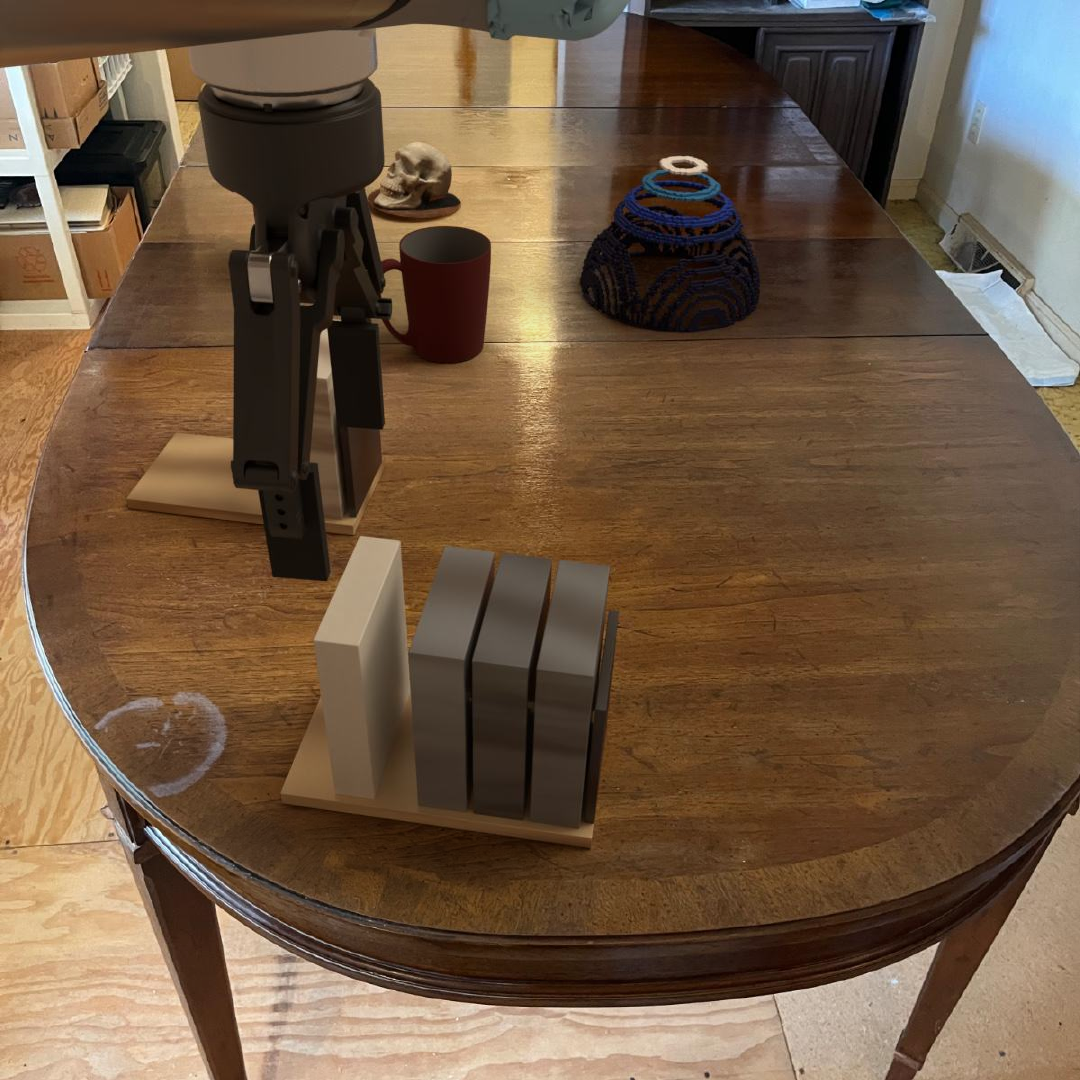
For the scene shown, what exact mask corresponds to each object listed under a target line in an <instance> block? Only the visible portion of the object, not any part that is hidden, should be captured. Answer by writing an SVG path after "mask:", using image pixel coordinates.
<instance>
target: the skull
mask: <svg viewBox="0 0 1080 1080" xmlns="http://www.w3.org/2000/svg"><path fill="white" fill-rule="evenodd" d="M394 160H395V161H393V162H392V163H391V164H390V166H389V167H388V168H387V172H386V176H385V177H384V178H383V179H382V180H381V181H380V183H379V187H380V188H377V189H374V190H373V191H371V192H370V193H369V194H368V195H367V200H368V204H370V205H371V207H373V209H376V210H377V211H379V212H383V213H385V214H388V215H393V216H397V217H402V218H404V217H405V218H410V219H412V220H417V218H418V219H420V220H423V219H426V220H430V219H431V218H438V217H443V216H444V217H445V216H448V215H452V214H453V213H454V212H456V211H458V210H459V209H460V208H461V206H462V202H461V200H460V198H458V197H457V196H456V195H455V194H454V193H451V192H450V188H451V184H452V178H453V177H452V176H453V170H452V165H451V163H450V161H449V159H448V158H447V156H446V155H444V154H443V153H442V152H441V151H440V150H439V149H437V148H436V147H434V146H432V145H430V144H428V143H425V142H422V141H413V142H410V143H408V144H405V145H404V146H402V147H400V148H399V149H398V150H396V151H395V153H394Z"/></svg>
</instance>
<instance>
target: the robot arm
mask: <svg viewBox="0 0 1080 1080" xmlns="http://www.w3.org/2000/svg"><path fill="white" fill-rule="evenodd" d="M630 2H631V0H0V69H5V68H14V67H23V66H30V65H31V66H33V65H40V64H41V65H42V64H50V63H59V62H66V61H75V60H83V59H84V60H85V59H92V58H94V59H95V58H101V57H102V58H103V57H111V56H120V55H128V54H137V53H145V52H155V51H164V50H170V49H171V50H172V49H179V48H187V52H188V58H189V63H190V70H191V72H192V73H193V74H194V76H195V78H198V80H200V81H202V82H203V83H204V86H203V87H202V88H201V91H200V92H199V94H198V96H197V104H198V111H199V117H200V122H201V128H202V134H203V141H204V147H205V148H204V149H205V152H206V159H207V166H208V170H209V172H210V174H211V176H212V178H213V179H214V180H215V181H216V183H217V184H218V185H220V186H221V187H222V188H223V189H225V190H227V191H229V192H230V193H235V194H237V195H238V196H241V197H243V198H244V199H245V200H247V201H248V202H249V203H250V204H251V205H253V206H254V207H255V210H256V215H255V220H254V223H253V224H252V226H251V229H250V234H249V246H248V249H236V248H235V249H231V251H230V254H229V257H228V258H229V259H228V271H229V280H230V287H231V296H232V304H233V305H232V306H233V395H232V396H233V407H232V408H233V410H232V411H233V414H232V417H233V419H232V423H233V425H232V428H233V429H232V432H233V433H232V439H233V460H231V471H232V473H233V474H232V476H233V484H234V486H235V487H236V488H242V489H251V490H258V493H259V499H260V505H261V511H262V517H263V523H264V524H263V530H264V534H265V535H264V536H265V540H266V547H267V553H268V559H269V565H270V570H271V571H270V572H271V577H272V578H279V579H290V580H302V581H303V580H305V581H316V582H317V581H318V582H328V579H329V577H330V575H331V572H332V571H331V564H330V563H331V562H330V553H329V546H328V539H327V532H326V529H325V520H324V512H323V504H322V495H321V487H320V479H319V470H318V463H310V452H311V440H312V429H313V417H314V405H315V393H316V382H317V370H318V358H319V347H320V335H321V332H322V331H323V330H325V329H327V332H328V342H329V352H330V361H331V371H332V381H333V390H334V400H335V410H336V420H337V426H339V427H353V428H366V429H379V430H380V431H381V430H383V429H384V427H385V425H386V416H385V414H386V413H385V402H384V401H385V399H384V389H383V373H382V372H383V371H382V359H381V356H382V355H381V344H380V342H381V341H380V330H379V327H380V326H379V323H375V322H372V319H373V320H382V319H387V320H389V321H390V320H391V319H392V314H393V299H392V298H391V297H390V298H389V297H382V298H378V296H377V294H376V293H381V294H383V293H384V290H385V288H386V285H387V279H386V278H385V273H383V268H382V263H381V261H382V259H381V255H380V249H379V246H378V242H377V237H376V233H375V228H374V227H375V226H374V223H373V218H372V213H371V209H370V205H369V204H370V203H369V202H368V195H367V191H366V188H368V187H369V186H370V185H372V184H373V183H374V182H375V181H376V180H377V179H378V178H379V177H380V176H381V174H382V172H383V170H384V167H385V162H386V161H385V160H386V159H385V157H386V156H385V141H384V125H383V108H382V107H383V106H382V93H381V91H380V89H379V88H378V87H377V86H376V85H375V83H374V82H373V81H372V80H371V79H370V77H371V76H372V75H373V74H374V73H375V72H376V71H377V69H378V64H379V61H378V43H377V41H378V40H377V29H381V28H391V27H398V26H399V27H401V26H406V25H407V26H408V25H433V26H447V27H456V28H462V29H468V30H475V31H479V32H480V31H481V32H485V33H489V35H490V39H495V40H501V41H510V39H511V38H513V37H515V36H519V37H529V38H539V39H547V40H559V41H568V42H569V41H571V42H577V41H582V40H583V41H584V40H587V39H591V38H594V37H596V36H598V35H600V34H601V33H603V32H604V31H607V29H608V28H609V27H611V26H612V25H613V24H614V23H615V22H616V21H617V20H618V18H619V17H620V16H621V14H623V12H624V11H625V9H626V8H627V6H628V5H629V3H630ZM253 206H252V207H253ZM302 304H308V305H302ZM309 304H310V305H309ZM334 317H340V320H341V321H335V320H333V319H334Z"/></svg>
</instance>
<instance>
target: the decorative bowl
mask: <svg viewBox="0 0 1080 1080" xmlns="http://www.w3.org/2000/svg"><path fill="white" fill-rule="evenodd" d="M658 163H659V167H660V168H662V169H659V170H658V169H657V170H655V171H654V172H651V173H648V174H645V175H644V176H643V177H642V178H641V185H638V186H636V187H634V188H631V189H630V190H629V191H628V192H627V193H626V194H625V195H624V198H623V200H620V202H618V203H617V206H616V207H615V209H614V211H613V214H612V215H613V221H610V224H609V226H608V227H606V228H604V229H602V232H600V233H599V234H596V237H595V238H593V241H592V243H591V244H590V245H591V246H590V247H589V249H588V251H586V255H585V258H584V259H583V266H582V270H581V272H580V273H581V275H580V277H579V285H580V289H581V290H580V291H581V293H582V298H584V299H585V301H586V302H587V303H588V304H589V305H590V306H591V307H594V308H595V310H597V311H600V313H602V314H605V315H606V316H607V317H608V318H611V319H614V320H615V321H619V322H620V323H625V324H629V326H636V327H639V328H640V329H642V328H645V329H649V330H653V331H655V330H657V331H661V332H665V331H666V332H673V331H674V332H680V333H685V332H687V333H694V332H699V331H700V332H701V331H706V330H707V331H708V330H713V329H720V328H727V327H729V326H731V325H734V324H735V323H736V322H741V321H743V320H745V319H746V318H747V317H749V316H750V315H751V313H752V312H755V310H756V309H757V305H758V304H759V300H760V294H761V289H760V287H761V286H760V285H761V283H760V282H761V278H760V271H759V266H758V262H757V257H756V256H755V254H754V249H753V248H752V246H753V244H752V243H751V242H750V241H749V239H748V238H747V235H745V234H744V232H743V230H742V228H744V226H745V225H744V224H743V223H742V219H741V217H740V215H739V212H738V211H736V209H735V206H734V202H733V201H732V200H731V199H730V198H729V197H728V196H727V195H725V194H724V193H723V192H721V191H722V189H721V188H722V186H721V184H720V183H719V182H718V181H716V180H715V179H714V178H713V177H711V176H710V175H708V174H706V173H705V172H708V171H709V168H708V166H709V164H708V163H706V162H705V161H704V160H702V159H699V158H698V157H694V156H689V155H685V156H682V155H676V156H675V155H674V156H667V157H666V158H665V157H664V158H661V159H660V160H659V162H658ZM674 163H675V164H676V163H686V164H687V163H689V165H694V166H692V167H691V168H685V167H682V168H681V167H680V168H679V167H676V166H674V165H673V164H674ZM703 172H704V173H703ZM666 175H681V176H693V177H694V178H700V179H701V180H704V181H707V184H708V185H706V184H702V183H699V182H692V181H686V180H685V181H684V180H683V181H682V180H671V179H665V180H656V178H658V177H659V176H660V177H661V176H666ZM664 187H666V188H672V187H674V188H675V187H676V188H684V189H692V190H697V191H692V192H691V191H687V190H683V191H677V190H670V189H665V188H664ZM642 191H645V192H644V193H639V192H642ZM653 198H661V199H667V200H671V201H675V202H676V201H680V202H695V203H696V202H702V203H708V204H712V205H713V207H715V206H716V209H719V210H717V211H713V212H710V213H709V214H704V215H703V216H704V217H703V218H701V217H700V216H696V215H693V216H688V215H684V214H683V212H679V210H677V209H676V208H671V207H669V206H667V205H659V204H658V205H657V204H656V205H650V206H649V205H648V206H643V205H642V204H639V203H638V201H642V200H643V199H644V200H645V199H653ZM624 208H625V209H627V211H625V213H624ZM646 222H648V223H646ZM716 226H717V227H716ZM669 227H671V229H669ZM681 228H683V229H684V233H686V235H684V234H683V233H682V232H683V231H682V230H681ZM698 228H701V230H700V231H699V233H698V235H697V233H696V232H695V229H698ZM715 228H716V230H714V229H715ZM672 229H673V230H674V231H673V230H672ZM664 231H666V232H664ZM674 233H675V234H674ZM621 237H622V238H621ZM734 241H737V242H741V244H739V245H738V246H734V247H733V248H732V249H731V250H730V251H729V252H728V254H727V253H725V252H726V251H727V248H729V247H730V246H731V245H732V244H733V243H734ZM718 243H719V244H720V243H721V244H720V245H719V248H716V249H715V247H716V245H717V244H718ZM634 244H639V245H640V246H641V247H642V248H643V249H644V250H637V251H629V249H630V248H631V247H632V246H633V245H634ZM706 244H708V246H707V249H706V251H705V252H703V250H704V247H705V245H706ZM660 245H662V248H660ZM686 247H687V248H686ZM661 249H662V250H661ZM715 250H716V252H715ZM739 252H740V253H741V254H742V255H740V256H739V257H738V258H736V257H735V255H737V254H739ZM659 254H660V255H663V256H669V255H670V256H676V255H677V256H678V257H685V258H681V259H677V261H676V262H675V265H671V267H666V268H665V270H663V272H662V273H658V275H657V276H655V281H653V282H652V283H650V286H648V287H647V290H648V291H645V292H644V296H642V298H640V295H639V292H640V289H638V288H639V284H638V280H637V279H638V278H637V276H636V275H637V274H636V270H635V267H634V263H633V261H632V257H636V256H642V255H643V256H644V255H645V256H651V255H659ZM687 258H688V259H687ZM618 260H619V261H618ZM691 263H694V264H701V263H713V264H714V265H715V266H710V267H709V266H708V267H704V268H703V267H701V268H694V269H693V268H685V270H684V267H686V266H688V264H691ZM601 266H604V267H605V268H606V271H607V272H606V273H607V275H608V276H609V279H610V283H611V287H612V288H611V290H610V287H609V283H608V280H607V279H606V273H605V272H604V271H603V270H602V268H601ZM683 270H684V271H683ZM595 271H597V272H598V273H599V275H598V274H597V273H596V272H595ZM623 271H624V272H623ZM673 273H676V274H677V275H675V279H676V280H675V281H673V283H669V284H668V286H666V287H664V284H665V285H666V284H667V282H669V280H670V279H671V278H672V275H673ZM720 273H722V275H724V276H721V277H715V278H711V279H708V280H704V279H700V280H699V279H698V280H693V276H697V277H700V276H707V275H716V274H720ZM725 277H726V278H725ZM727 277H728V278H727ZM600 278H601V279H600ZM730 279H732V280H733V281H734V282H735V283H736V284H737V285H740V286H739V290H740V291H743V295H744V300H743V295H741V294H740V293H739V292H738V290H737V289H735V288H734V285H733V283H732V281H730ZM688 280H691V281H689V283H687V284H686V286H684V290H683V291H682V292H681V293H680V295H678V296H677V298H675V300H673V301H672V303H670V304H668V305H665V304H666V302H668V298H669V297H671V294H675V293H676V289H679V288H681V286H683V285H684V283H686V281H688ZM692 280H693V281H692ZM617 287H618V288H617ZM662 287H663V288H662ZM589 289H590V290H591V293H592V296H593V298H592V297H591V295H590V291H589ZM661 289H662V290H661ZM658 290H660V292H659V291H658ZM710 290H713V291H714V292H715V293H708V294H706V292H707V291H710ZM611 291H612V295H613V299H614V302H613V311H614V313H613V312H612V308H611V307H612V302H611V298H610V293H611ZM719 291H724V292H725V294H727V295H726V296H725V295H724V294H720V292H719ZM604 292H605V293H604ZM658 294H660V296H659V297H658V298H657V299H658V300H657V301H655V303H651V304H650V300H654V298H655V297H656V295H658ZM697 294H701V295H698V296H697V297H696V298H695V300H692V298H693V297H695V295H697ZM728 295H730V296H731V297H732V298H733V299H734V300H735V302H733V301H732V300H731V299H730V298H729V297H728ZM605 300H606V301H605ZM688 300H691V301H690V303H688V302H687V301H688ZM713 300H717V301H718V302H722V303H723V305H727V309H728V312H729V313H730V314H729V315H728V314H727V310H725V308H724V307H723V308H721V307H720V306H714V307H706V308H699V309H698V311H696V313H695V314H693V316H691V317H690V323H688V324H687V327H686V326H683V325H684V324H683V323H684V318H686V317H687V315H689V314H690V313H689V312H690V310H694V308H695V307H697V305H698V304H699V303H700V302H706V301H713ZM618 302H619V304H618ZM620 302H621V303H620ZM605 303H606V307H605ZM685 303H688V305H687V306H685V308H683V309H682V311H680V315H678V316H677V311H679V310H680V308H682V306H683V305H685ZM744 303H745V304H744ZM638 305H640V309H639V310H638ZM665 306H666V309H667V311H666V312H663V314H661V315H660V319H658V320H657V317H658V316H657V314H660V310H661V309H663V307H665ZM650 307H652V310H649V309H650ZM628 309H629V314H628V315H627V312H628ZM647 314H649V319H646V320H645V317H647ZM737 314H738V315H737ZM712 316H713V317H714V318H715V320H717V323H716V322H715V323H714V324H711V325H704V326H699V325H701V324H702V322H704V320H705V319H706V318H707V317H712ZM676 317H677V318H676ZM728 317H729V318H728ZM674 318H676V319H674ZM644 320H645V323H644ZM673 323H674V326H672V327H671V325H673ZM656 324H657V325H656Z"/></svg>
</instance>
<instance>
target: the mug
mask: <svg viewBox="0 0 1080 1080" xmlns="http://www.w3.org/2000/svg"><path fill="white" fill-rule="evenodd" d="M398 245H399V246H398V251H399V260H398V259H395V258H386V259H382V260H381V263H382V268H383V273H384V274H386V273H388V272H389V271H392V270H393V271H395V270H397V271H399V272H401V279H402V287H403V288H402V289H403V293H404V294H403V295H404V301H405V309H406V315H407V322H408V323H407V330H406V332H405V333H400V332H399V331H398V330H396V328H394V326H393V324H392V323H391V321H390V320H387V319H381V321H382V323H383V325H384V326H385V328H386V329H387V331H388V332H389V333H390V334H391V335H392V336H393V337H394V338H395V339H396V340H397V341H398V342H400V343H401V344H403V345H406V346H409V347H411V348H412V351H413V352H414V353H415V354H416V355H417V356H419V357H420V358H423V359H424V360H426V361H427V360H428V361H431V362H436V363H445V364H448V363H449V364H451V363H461V362H465V361H468V360H471V359H473V358H475V357H477V356H478V355H479V354H481V352H482V351H483V349H484V345H485V335H486V324H487V315H488V305H489V293H490V292H489V290H490V279H491V278H490V277H491V267H492V266H491V263H492V242H491V241H490V239H489V238H488V237H487V236H486V235H485V234H483V233H482V232H480V231H477V230H475V229H472V228H468V227H464V226H458V225H457V226H456V225H434V226H428V227H427V226H426V227H422V228H418V229H415V230H412V231H410V232H408V233H406V234H405V235H404V236H403V237H401V239H400V241H399V242H398ZM376 294H377V296H378V298H383V297H382V293H376Z"/></svg>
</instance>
